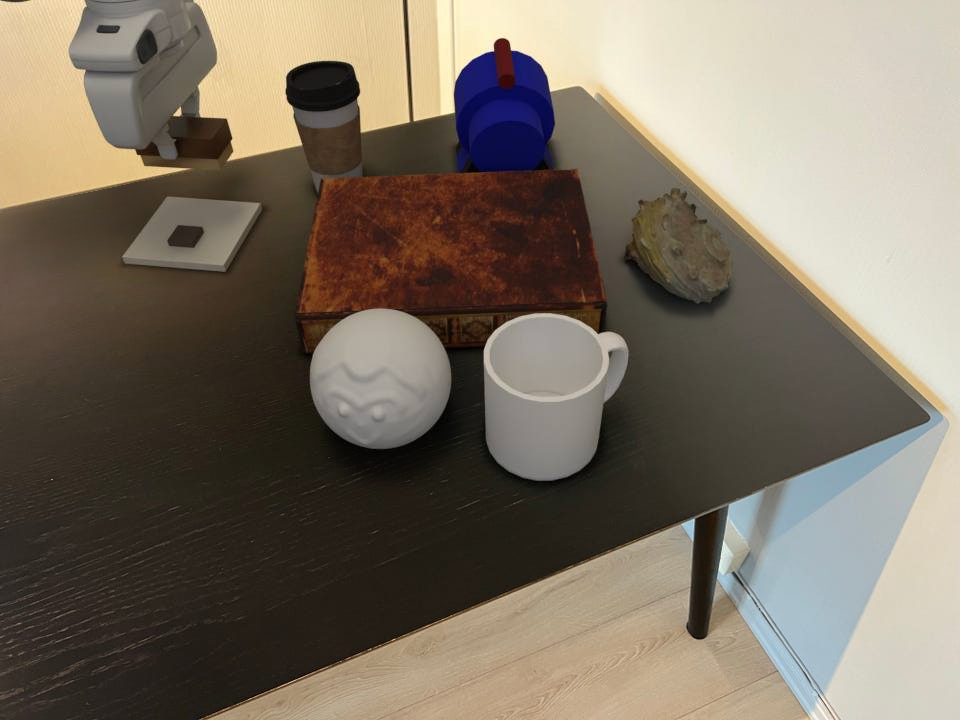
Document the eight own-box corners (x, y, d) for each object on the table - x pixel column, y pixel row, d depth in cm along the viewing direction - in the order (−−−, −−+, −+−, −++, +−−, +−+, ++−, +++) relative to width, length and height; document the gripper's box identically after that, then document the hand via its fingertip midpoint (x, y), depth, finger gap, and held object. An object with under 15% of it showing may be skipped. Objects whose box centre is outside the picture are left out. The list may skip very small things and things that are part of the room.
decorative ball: (304, 468, 69) (276, 373, 60) (344, 369, 77) (324, 273, 68) (439, 485, 67) (429, 390, 59) (465, 383, 75) (460, 286, 67)
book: (303, 355, 78) (293, 318, 75) (327, 213, 95) (321, 177, 92) (602, 343, 79) (607, 305, 75) (574, 204, 96) (577, 168, 92)
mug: (513, 498, 66) (514, 418, 59) (468, 414, 73) (464, 333, 65) (644, 450, 69) (661, 368, 62) (590, 374, 76) (599, 292, 68)
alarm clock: (546, 139, 106) (551, 27, 96) (558, 190, 98) (565, 74, 87) (455, 143, 106) (450, 32, 95) (459, 196, 97) (454, 79, 87)
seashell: (656, 334, 81) (679, 263, 73) (597, 242, 90) (611, 169, 82) (749, 310, 84) (781, 239, 76) (683, 223, 92) (705, 150, 85)
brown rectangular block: (141, 167, 88) (129, 134, 85) (158, 146, 91) (147, 114, 88) (221, 171, 87) (211, 139, 84) (236, 150, 90) (227, 118, 87)
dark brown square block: (168, 246, 90) (166, 240, 89) (179, 230, 92) (177, 224, 91) (193, 248, 90) (191, 242, 89) (204, 232, 92) (202, 226, 91)
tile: (124, 263, 89) (121, 256, 89) (169, 203, 98) (167, 196, 97) (225, 272, 88) (223, 265, 87) (262, 209, 96) (260, 202, 96)
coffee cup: (355, 210, 96) (337, 93, 85) (293, 199, 98) (267, 83, 87) (384, 174, 101) (369, 60, 90) (324, 163, 103) (303, 51, 93)
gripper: (156, -26, 85) (193, 95, 95) (57, 60, 71) (113, 192, 81) (211, -24, 84) (243, 98, 94) (123, 63, 70) (171, 195, 80)
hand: (182, 142), depth 87 cm, fingers closed on brown rectangular block, 4 cm apart
